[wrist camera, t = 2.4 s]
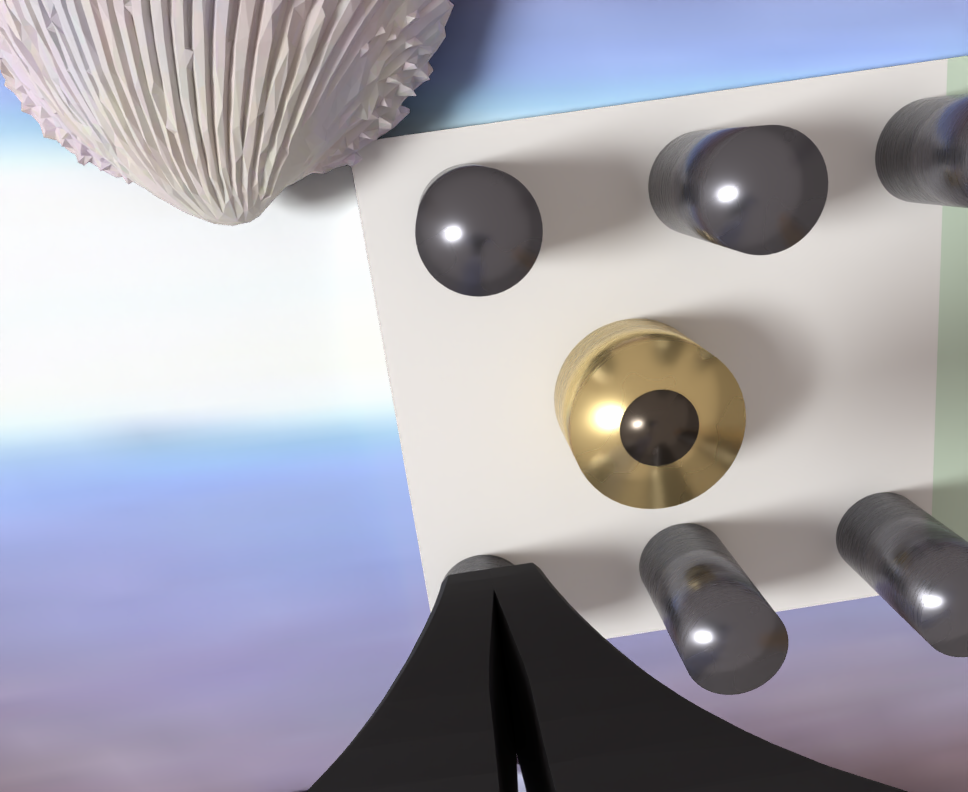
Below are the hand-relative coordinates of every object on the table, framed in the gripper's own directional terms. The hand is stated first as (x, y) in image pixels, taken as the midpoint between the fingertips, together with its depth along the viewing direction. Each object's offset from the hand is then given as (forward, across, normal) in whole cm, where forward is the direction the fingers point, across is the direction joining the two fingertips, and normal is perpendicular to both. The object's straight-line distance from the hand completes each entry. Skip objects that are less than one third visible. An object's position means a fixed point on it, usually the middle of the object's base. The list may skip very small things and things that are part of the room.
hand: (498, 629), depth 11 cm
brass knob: (+9, -4, 0) cm, 10 cm away
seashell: (+10, +4, -11) cm, 15 cm away
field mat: (+10, -8, 0) cm, 13 cm away
